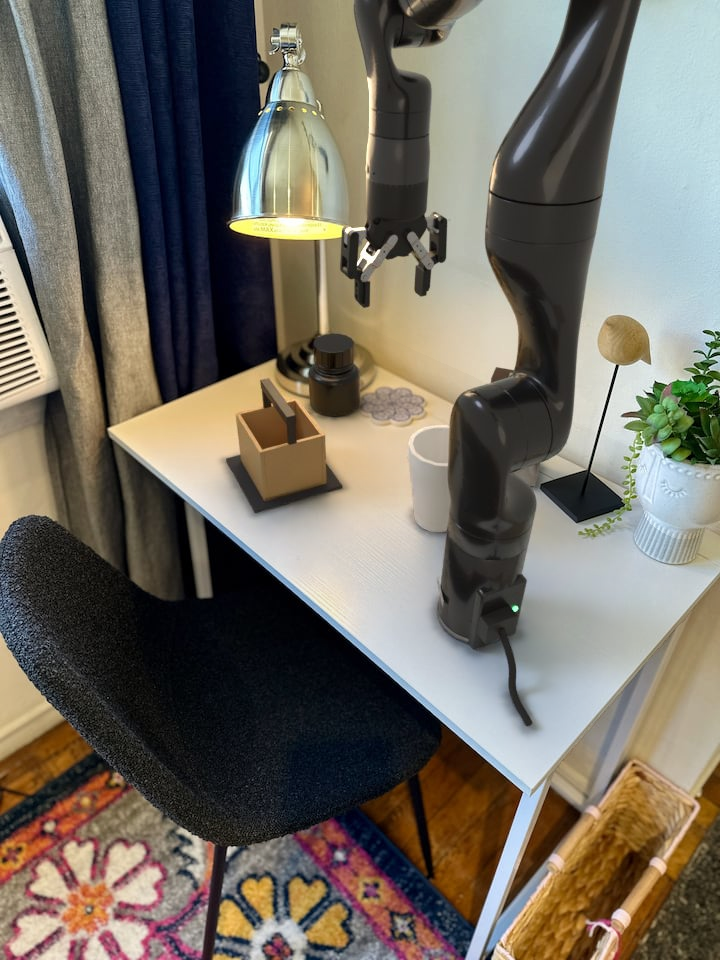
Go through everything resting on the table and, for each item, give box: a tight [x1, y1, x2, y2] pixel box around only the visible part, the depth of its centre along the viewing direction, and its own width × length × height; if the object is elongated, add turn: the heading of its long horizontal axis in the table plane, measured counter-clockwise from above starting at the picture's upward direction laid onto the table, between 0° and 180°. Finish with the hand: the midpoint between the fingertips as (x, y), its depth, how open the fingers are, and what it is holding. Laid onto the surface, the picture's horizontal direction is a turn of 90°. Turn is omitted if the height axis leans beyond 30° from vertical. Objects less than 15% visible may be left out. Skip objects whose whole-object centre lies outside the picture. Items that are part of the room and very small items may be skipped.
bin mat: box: [225, 454, 343, 514], centre depth 112 cm, size 14×14×1 cm
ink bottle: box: [308, 333, 361, 417], centre depth 124 cm, size 10×9×12 cm
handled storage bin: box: [235, 377, 327, 501], centre depth 107 cm, size 11×10×14 cm
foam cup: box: [406, 424, 450, 533], centre depth 100 cm, size 10×9×13 cm
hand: (392, 299), depth 96 cm, fingers open, 8 cm apart
